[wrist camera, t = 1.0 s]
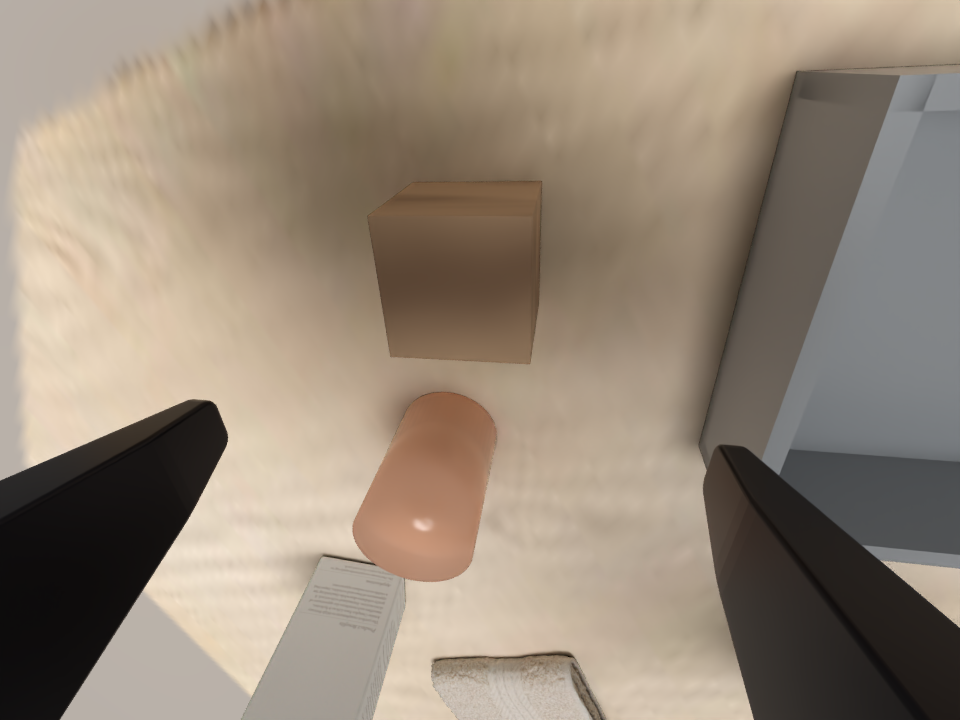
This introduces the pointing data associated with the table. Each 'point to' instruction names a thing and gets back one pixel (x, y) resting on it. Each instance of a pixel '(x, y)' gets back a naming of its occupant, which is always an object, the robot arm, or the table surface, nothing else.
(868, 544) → the tote
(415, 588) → the table surface
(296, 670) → the skincare box
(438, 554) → the cylinder
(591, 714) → the washcloth
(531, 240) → the cube
